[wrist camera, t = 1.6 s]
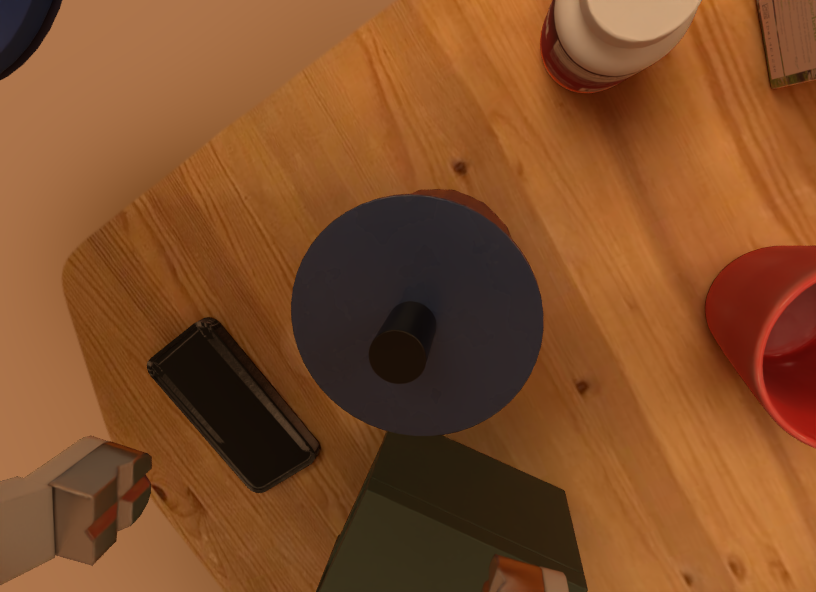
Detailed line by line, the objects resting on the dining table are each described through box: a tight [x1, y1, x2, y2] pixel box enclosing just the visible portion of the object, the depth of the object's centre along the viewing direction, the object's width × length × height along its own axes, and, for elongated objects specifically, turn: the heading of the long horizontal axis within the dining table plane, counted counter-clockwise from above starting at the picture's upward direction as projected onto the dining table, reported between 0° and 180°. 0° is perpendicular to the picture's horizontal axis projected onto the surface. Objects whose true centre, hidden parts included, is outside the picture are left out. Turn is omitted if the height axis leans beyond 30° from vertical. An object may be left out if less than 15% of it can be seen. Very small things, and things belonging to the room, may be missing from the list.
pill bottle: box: [540, 0, 702, 93], centre depth 23 cm, size 6×6×11 cm
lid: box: [291, 194, 543, 436], centre depth 21 cm, size 12×12×5 cm
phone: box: [147, 317, 320, 493], centre depth 40 cm, size 8×1×15 cm
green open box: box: [316, 431, 588, 592], centre depth 36 cm, size 15×15×9 cm
